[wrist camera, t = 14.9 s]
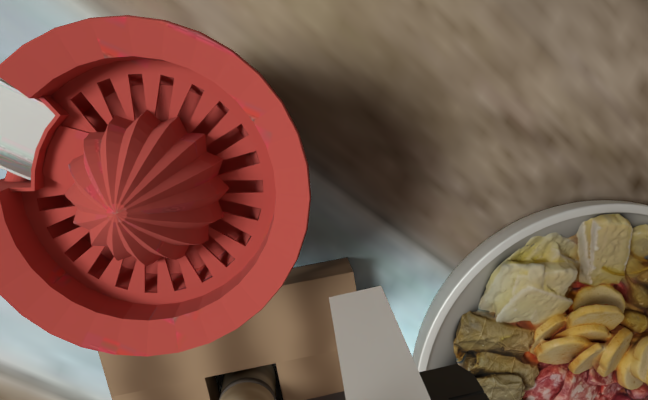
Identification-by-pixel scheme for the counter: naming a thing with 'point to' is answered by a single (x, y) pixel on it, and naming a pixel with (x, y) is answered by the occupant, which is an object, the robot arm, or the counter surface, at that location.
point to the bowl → (549, 307)
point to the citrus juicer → (144, 186)
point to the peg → (250, 384)
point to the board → (252, 346)
